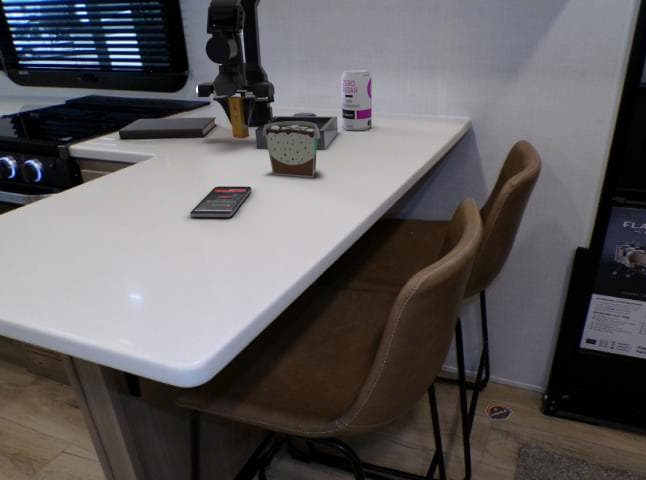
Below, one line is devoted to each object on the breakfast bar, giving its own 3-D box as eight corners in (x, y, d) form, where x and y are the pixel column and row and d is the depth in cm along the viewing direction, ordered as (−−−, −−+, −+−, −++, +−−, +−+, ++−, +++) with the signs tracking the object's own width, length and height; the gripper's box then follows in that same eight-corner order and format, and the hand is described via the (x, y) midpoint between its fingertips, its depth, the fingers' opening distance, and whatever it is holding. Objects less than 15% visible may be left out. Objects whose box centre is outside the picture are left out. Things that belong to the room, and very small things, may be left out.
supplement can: (372, 124, 152) (372, 68, 145) (370, 131, 145) (370, 72, 137) (344, 124, 153) (343, 69, 145) (341, 131, 146) (339, 72, 138)
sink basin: (257, 148, 131) (254, 129, 129) (276, 132, 146) (274, 116, 144) (324, 149, 128) (324, 130, 126) (337, 133, 143) (337, 116, 141)
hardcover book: (140, 127, 157) (138, 119, 156) (216, 125, 157) (215, 117, 156) (120, 139, 143) (117, 130, 142) (203, 137, 143) (202, 128, 142)
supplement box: (250, 136, 138) (245, 95, 133) (243, 139, 135) (237, 98, 130) (240, 135, 139) (235, 95, 134) (232, 138, 136) (227, 97, 131)
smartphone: (252, 186, 101) (230, 214, 88) (252, 190, 102) (231, 218, 89) (215, 186, 102) (188, 213, 89) (216, 189, 102) (189, 217, 89)
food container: (330, 170, 113) (328, 122, 108) (320, 178, 108) (317, 128, 103) (279, 166, 117) (275, 119, 112) (266, 173, 112) (261, 125, 107)
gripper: (181, 63, 122) (193, 131, 130) (258, 62, 120) (265, 132, 127) (200, 58, 132) (210, 122, 140) (272, 57, 129) (278, 123, 137)
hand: (240, 125), depth 136 cm, fingers closed on supplement box, 4 cm apart
